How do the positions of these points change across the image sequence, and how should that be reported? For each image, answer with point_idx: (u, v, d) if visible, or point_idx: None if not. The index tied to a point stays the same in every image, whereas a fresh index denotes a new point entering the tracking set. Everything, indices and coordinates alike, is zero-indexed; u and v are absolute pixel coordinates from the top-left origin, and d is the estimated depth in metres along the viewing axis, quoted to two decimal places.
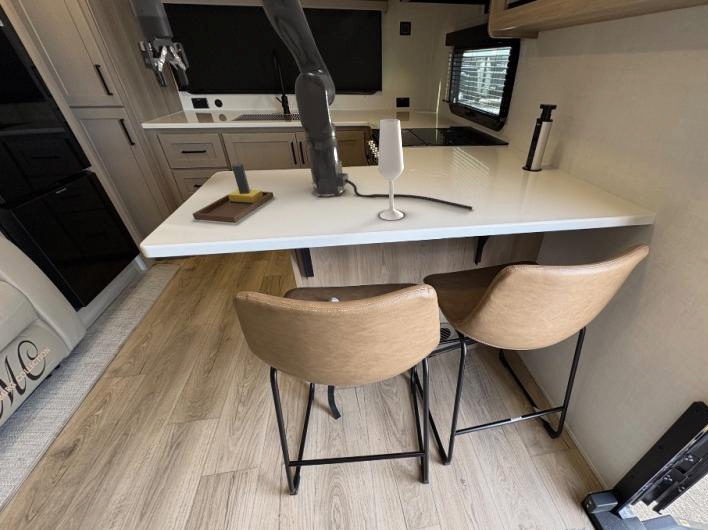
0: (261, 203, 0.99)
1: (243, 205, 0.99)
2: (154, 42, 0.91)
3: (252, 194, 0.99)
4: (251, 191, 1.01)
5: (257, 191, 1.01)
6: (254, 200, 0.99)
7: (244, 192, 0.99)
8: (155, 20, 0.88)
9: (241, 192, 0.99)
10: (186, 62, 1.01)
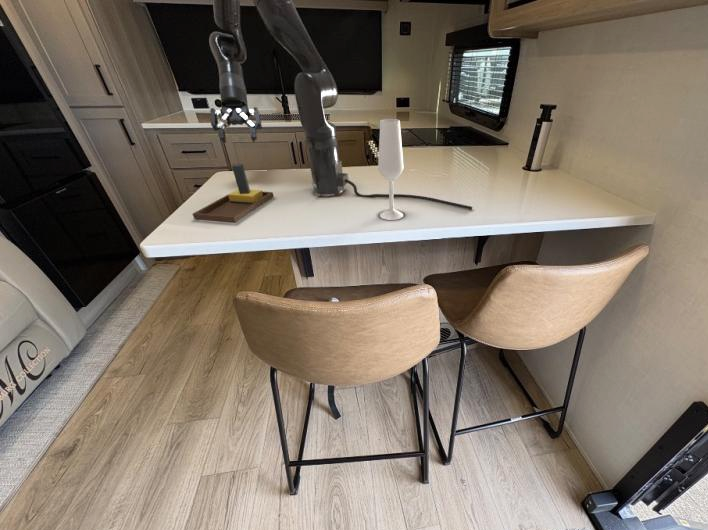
0: (261, 203, 0.99)
1: (243, 205, 0.99)
2: (222, 108, 1.02)
3: (252, 194, 0.99)
4: (251, 191, 1.01)
5: (257, 191, 1.01)
6: (254, 200, 0.99)
7: (244, 192, 0.99)
8: (222, 90, 1.01)
9: (241, 192, 0.99)
10: (257, 120, 1.03)
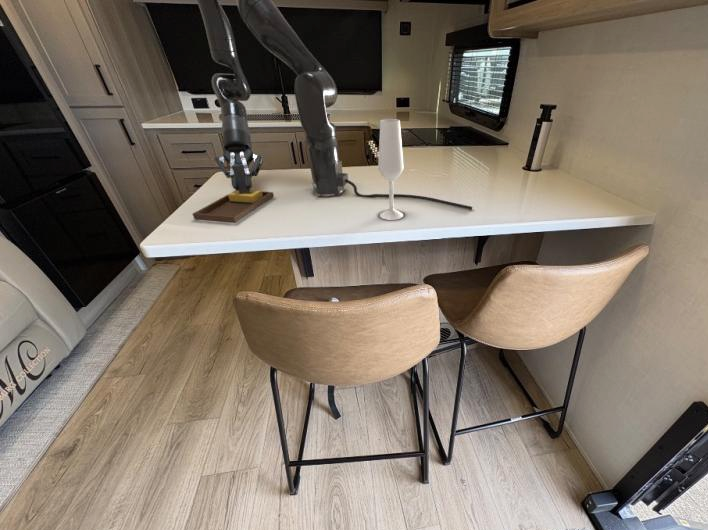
0: (261, 203, 0.99)
1: (243, 205, 0.99)
2: (225, 152, 0.98)
3: (252, 194, 0.99)
4: (251, 191, 1.01)
5: (257, 191, 1.01)
6: (254, 200, 0.99)
7: (244, 192, 0.99)
8: (225, 133, 0.97)
9: (241, 192, 0.99)
10: (252, 168, 0.98)
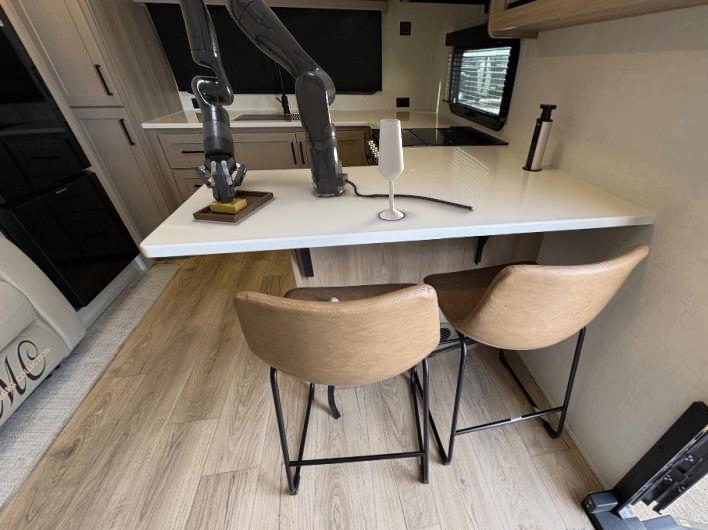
0: (261, 203, 0.99)
1: None
2: (206, 160, 0.91)
3: (235, 204, 0.92)
4: (234, 200, 0.94)
5: (241, 200, 0.94)
6: (237, 210, 0.92)
7: (226, 202, 0.92)
8: (205, 141, 0.90)
9: (223, 202, 0.92)
10: (235, 177, 0.91)
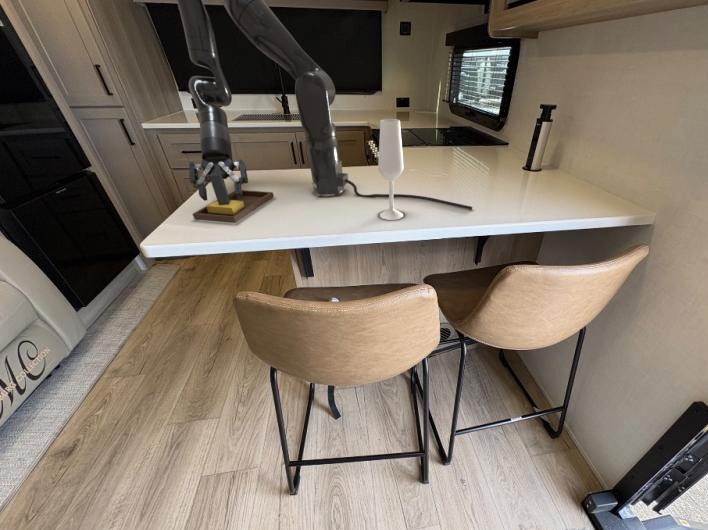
0: (261, 203, 0.99)
1: None
2: (203, 161, 0.90)
3: (232, 205, 0.91)
4: (231, 202, 0.94)
5: (238, 202, 0.94)
6: (234, 212, 0.92)
7: (223, 203, 0.92)
8: (203, 141, 0.89)
9: (220, 203, 0.92)
10: (242, 174, 0.91)
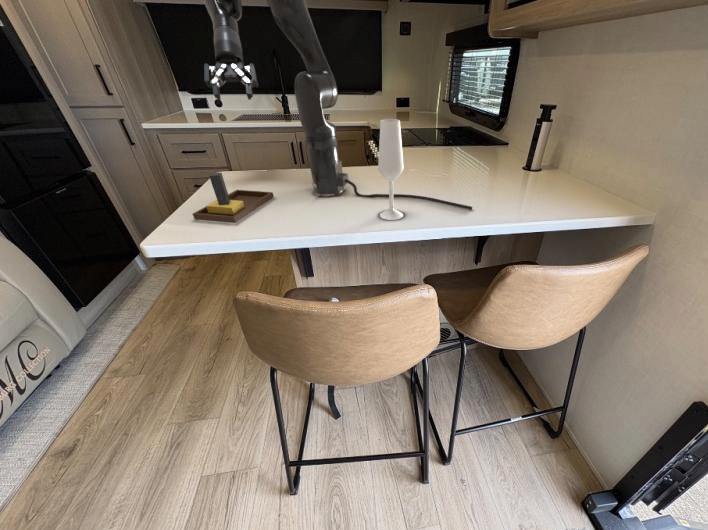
0: (261, 203, 0.99)
1: None
2: (217, 64, 0.97)
3: (232, 205, 0.91)
4: (231, 202, 0.94)
5: (238, 202, 0.94)
6: (234, 212, 0.92)
7: (223, 203, 0.92)
8: (216, 44, 0.96)
9: (220, 203, 0.92)
10: (253, 77, 0.98)
